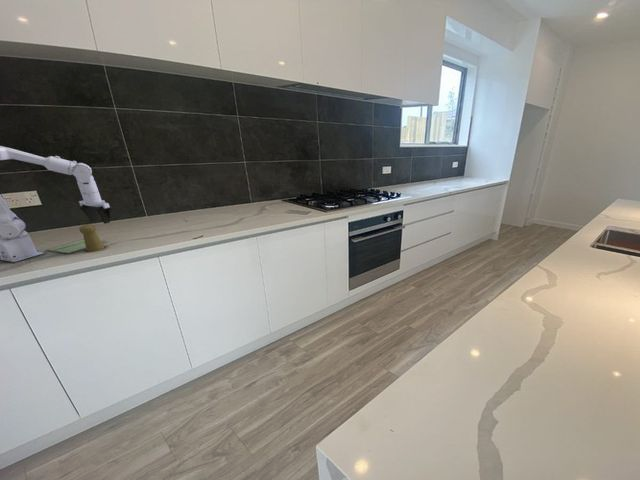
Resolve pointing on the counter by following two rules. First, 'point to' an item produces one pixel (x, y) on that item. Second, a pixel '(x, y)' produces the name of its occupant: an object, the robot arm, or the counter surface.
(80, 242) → the napkin
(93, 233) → the cork
